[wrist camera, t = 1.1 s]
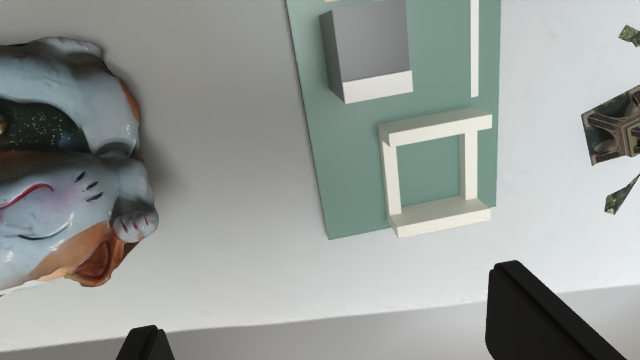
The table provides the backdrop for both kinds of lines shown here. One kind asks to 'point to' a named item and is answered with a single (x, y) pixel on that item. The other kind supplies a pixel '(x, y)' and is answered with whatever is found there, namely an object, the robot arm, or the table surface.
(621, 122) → the eiffel tower figurine
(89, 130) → the lucky cat figurine
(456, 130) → the board
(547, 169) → the table surface
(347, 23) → the plug
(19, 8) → the table surface
